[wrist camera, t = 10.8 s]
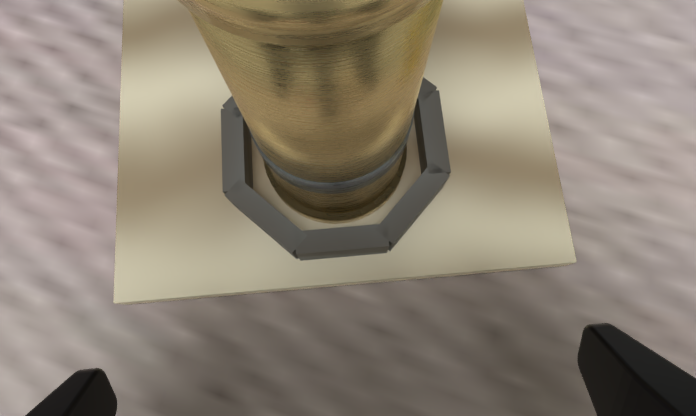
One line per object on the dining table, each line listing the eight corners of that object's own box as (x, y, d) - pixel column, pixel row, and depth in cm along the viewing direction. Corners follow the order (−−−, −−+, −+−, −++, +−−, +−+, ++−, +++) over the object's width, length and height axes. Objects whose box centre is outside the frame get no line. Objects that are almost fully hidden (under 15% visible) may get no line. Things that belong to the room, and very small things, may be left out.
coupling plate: (565, 265, 19) (596, 255, 16) (126, 304, 19) (91, 300, 16) (478, -172, 24) (492, -228, 22) (138, -145, 24) (114, -198, 22)
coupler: (308, 249, 18) (216, 80, 6) (242, 133, 19) (57, -202, 7) (431, 180, 19) (569, -100, 7) (360, 71, 20) (369, -332, 8)
